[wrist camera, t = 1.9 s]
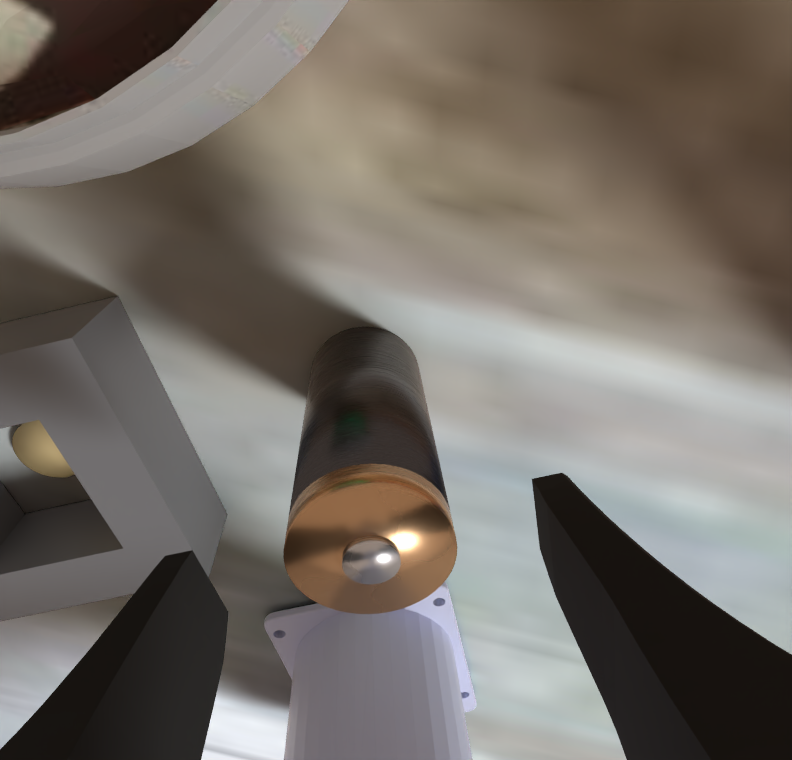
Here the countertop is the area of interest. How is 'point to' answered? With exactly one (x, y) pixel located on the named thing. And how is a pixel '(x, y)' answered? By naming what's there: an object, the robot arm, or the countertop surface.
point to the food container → (136, 77)
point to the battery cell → (368, 481)
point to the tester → (95, 463)
